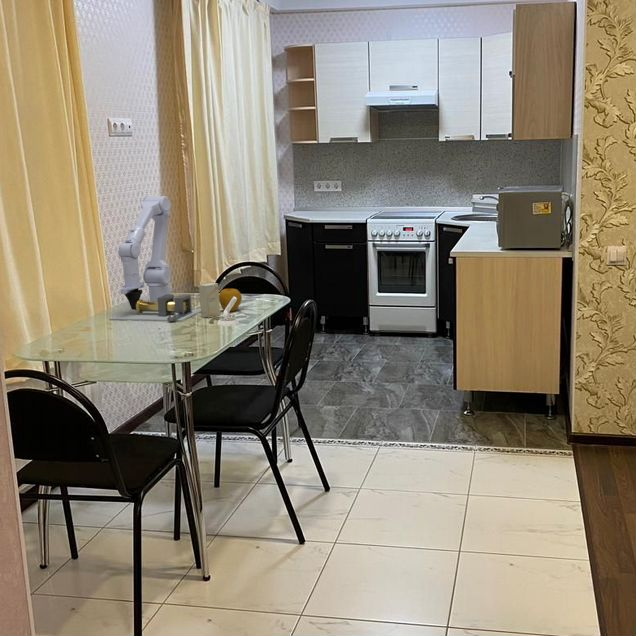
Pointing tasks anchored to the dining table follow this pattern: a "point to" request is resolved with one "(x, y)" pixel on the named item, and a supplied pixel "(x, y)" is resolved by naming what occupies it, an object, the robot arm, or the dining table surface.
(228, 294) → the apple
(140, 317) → the mat
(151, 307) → the pin
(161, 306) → the chain end
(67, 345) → the dining table surface
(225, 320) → the white lever switch
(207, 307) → the skincare box
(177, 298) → the chain end
